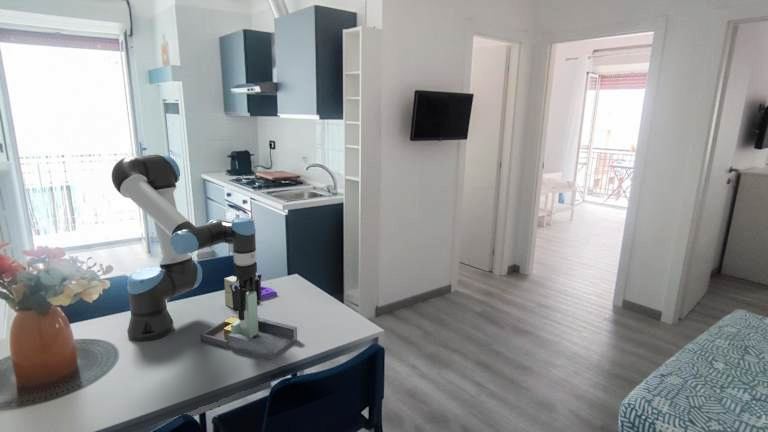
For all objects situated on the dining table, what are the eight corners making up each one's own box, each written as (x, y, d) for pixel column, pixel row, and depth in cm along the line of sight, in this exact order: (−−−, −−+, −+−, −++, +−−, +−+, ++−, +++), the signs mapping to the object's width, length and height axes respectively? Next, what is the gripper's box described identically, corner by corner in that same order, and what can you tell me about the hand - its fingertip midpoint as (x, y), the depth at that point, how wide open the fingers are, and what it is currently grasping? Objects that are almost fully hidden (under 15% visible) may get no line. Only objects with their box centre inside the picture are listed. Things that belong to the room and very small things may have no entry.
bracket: (251, 302, 188) (251, 287, 187) (245, 297, 193) (244, 283, 192) (277, 295, 196) (276, 281, 194) (270, 290, 201) (269, 276, 199)
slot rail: (228, 348, 151) (227, 334, 149) (257, 329, 164) (257, 317, 163) (270, 360, 143) (270, 346, 142) (297, 339, 157) (296, 327, 156)
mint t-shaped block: (231, 337, 153) (228, 295, 150) (249, 326, 161) (247, 286, 158) (245, 341, 151) (243, 298, 147) (262, 330, 159) (260, 289, 155)
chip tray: (201, 340, 155) (200, 334, 154) (233, 322, 169) (232, 316, 169) (226, 348, 150) (226, 341, 150) (257, 328, 165) (257, 322, 164)
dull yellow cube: (224, 331, 161) (224, 321, 160) (232, 326, 165) (231, 316, 164) (233, 333, 159) (232, 323, 159) (240, 328, 163) (240, 318, 162)
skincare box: (225, 305, 184) (223, 278, 181) (234, 301, 188) (232, 275, 185) (234, 309, 181) (232, 281, 178) (243, 305, 184) (241, 278, 181)
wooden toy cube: (224, 338, 156) (223, 328, 155) (232, 333, 159) (231, 323, 158) (232, 341, 154) (232, 330, 153) (240, 336, 158) (240, 326, 157)
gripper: (235, 272, 140) (239, 337, 146) (270, 256, 156) (272, 316, 161) (218, 268, 143) (222, 332, 149) (253, 253, 159) (256, 312, 164)
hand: (248, 324), depth 155 cm, fingers closed on mint t-shaped block, 4 cm apart
